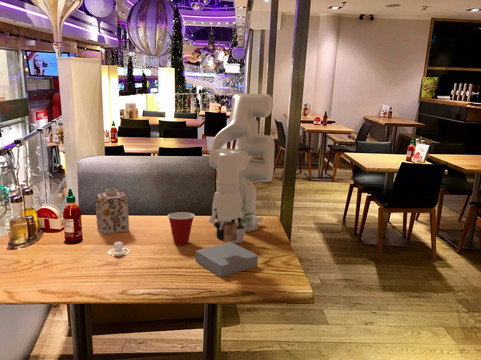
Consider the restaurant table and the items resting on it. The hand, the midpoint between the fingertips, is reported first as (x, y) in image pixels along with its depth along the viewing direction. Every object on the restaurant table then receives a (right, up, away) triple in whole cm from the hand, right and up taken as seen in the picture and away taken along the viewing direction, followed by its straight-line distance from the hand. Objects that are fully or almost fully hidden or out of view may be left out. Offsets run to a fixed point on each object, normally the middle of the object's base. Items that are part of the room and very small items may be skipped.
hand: (226, 237), depth 144 cm
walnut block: (0, -1, 0) cm, 1 cm away
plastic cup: (-19, -5, +21) cm, 29 cm away
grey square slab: (0, -10, +2) cm, 10 cm away
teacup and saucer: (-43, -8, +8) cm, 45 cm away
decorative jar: (-51, -2, +34) cm, 61 cm away
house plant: (+3, -5, +24) cm, 24 cm away
